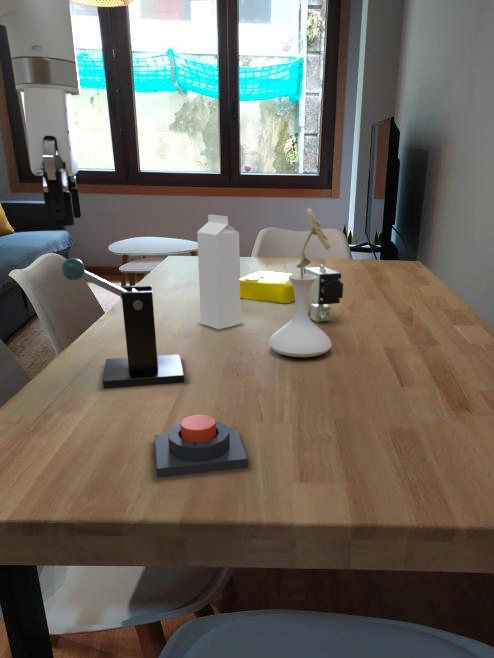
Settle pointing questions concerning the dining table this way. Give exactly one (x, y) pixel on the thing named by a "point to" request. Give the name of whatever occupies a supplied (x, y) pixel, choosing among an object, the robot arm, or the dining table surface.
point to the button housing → (199, 452)
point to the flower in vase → (302, 311)
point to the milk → (219, 273)
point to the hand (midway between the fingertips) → (65, 221)
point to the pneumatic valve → (324, 291)
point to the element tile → (267, 287)
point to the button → (198, 428)
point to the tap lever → (87, 276)
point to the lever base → (141, 346)
